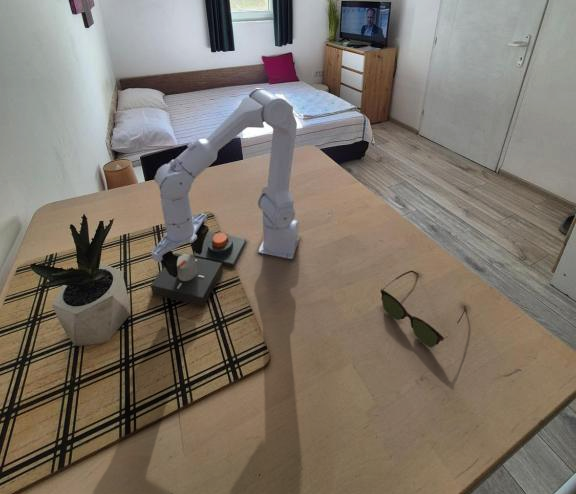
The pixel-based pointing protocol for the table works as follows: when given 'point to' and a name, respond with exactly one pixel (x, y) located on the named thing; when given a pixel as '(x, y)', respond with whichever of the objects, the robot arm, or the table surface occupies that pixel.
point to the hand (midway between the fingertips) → (185, 263)
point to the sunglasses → (412, 318)
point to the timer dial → (186, 267)
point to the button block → (222, 250)
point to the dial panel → (189, 283)
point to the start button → (219, 240)
